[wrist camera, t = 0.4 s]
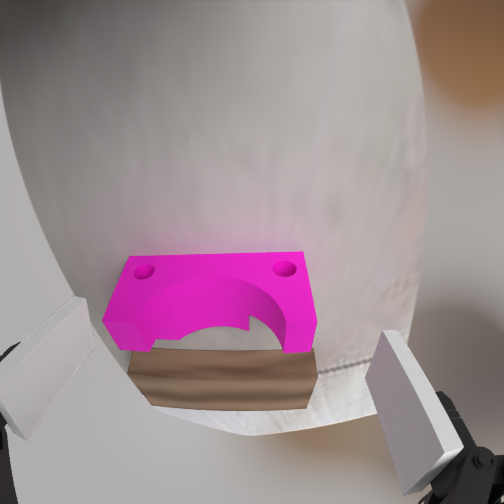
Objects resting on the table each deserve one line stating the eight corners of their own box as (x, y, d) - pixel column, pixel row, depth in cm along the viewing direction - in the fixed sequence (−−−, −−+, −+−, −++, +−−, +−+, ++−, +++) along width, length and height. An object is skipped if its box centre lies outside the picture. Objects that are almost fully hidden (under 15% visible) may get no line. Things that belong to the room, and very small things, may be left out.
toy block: (147, 302, 29) (130, 365, 23) (130, 254, 25) (102, 320, 19) (297, 300, 28) (306, 367, 22) (302, 249, 24) (317, 321, 19)
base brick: (134, 346, 34) (127, 373, 30) (313, 348, 33) (317, 377, 30) (155, 382, 40) (151, 405, 37) (303, 384, 39) (306, 408, 36)
